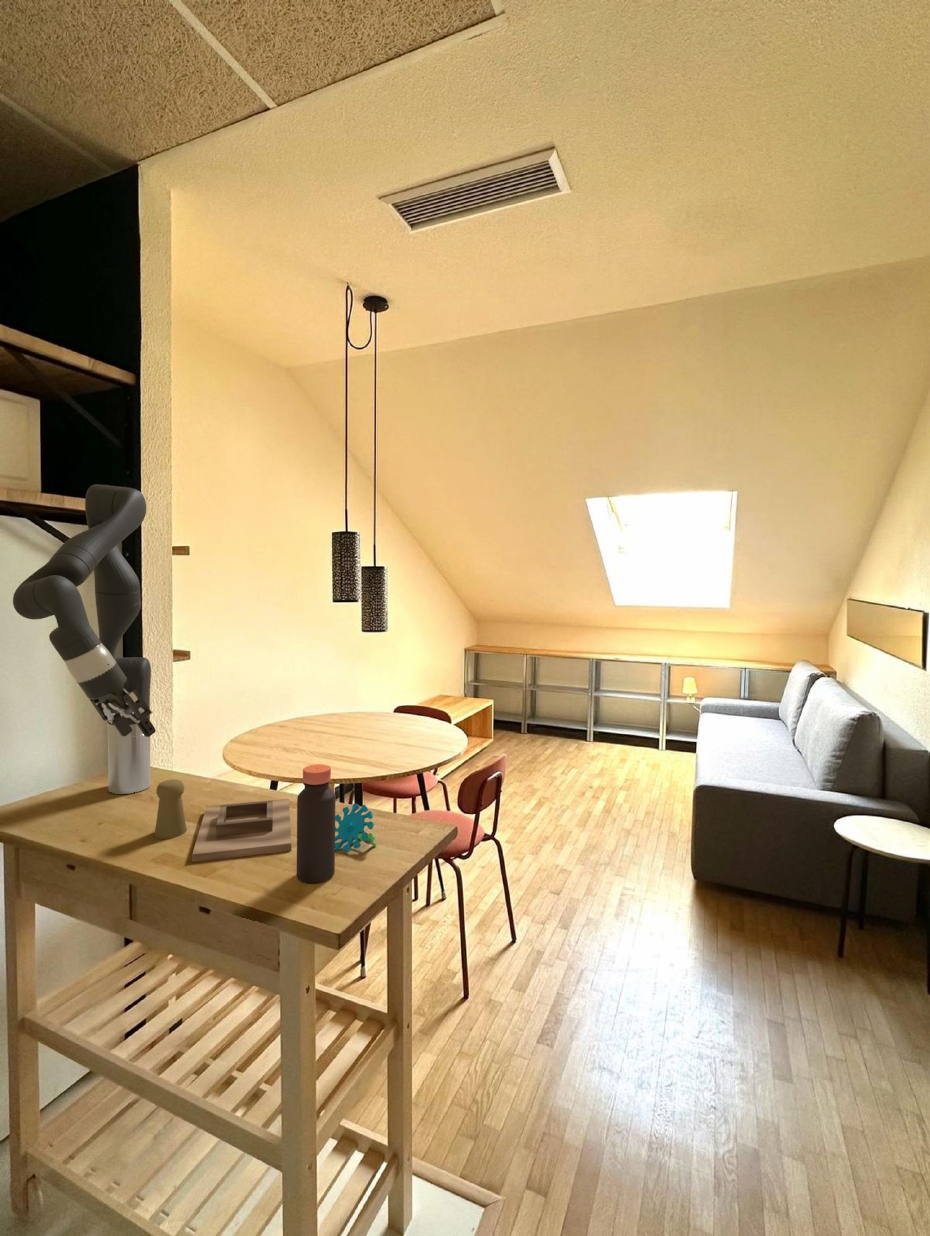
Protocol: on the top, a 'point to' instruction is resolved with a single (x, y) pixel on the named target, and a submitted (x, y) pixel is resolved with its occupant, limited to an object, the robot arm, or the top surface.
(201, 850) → the jig board
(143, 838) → the top surface
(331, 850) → the bottle
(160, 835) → the cork
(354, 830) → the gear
